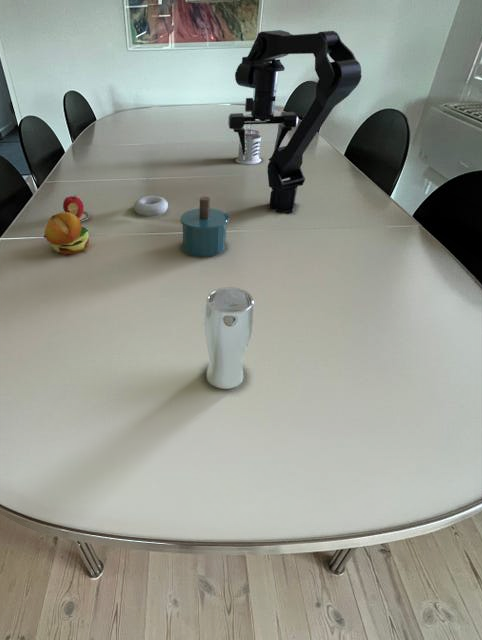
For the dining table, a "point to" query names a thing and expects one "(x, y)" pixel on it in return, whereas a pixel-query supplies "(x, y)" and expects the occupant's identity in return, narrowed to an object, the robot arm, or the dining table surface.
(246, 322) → the beer glass
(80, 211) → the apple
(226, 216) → the lid
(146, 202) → the donut
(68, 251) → the cheeseburger
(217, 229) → the canister
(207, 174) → the dining table surface
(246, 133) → the french press
